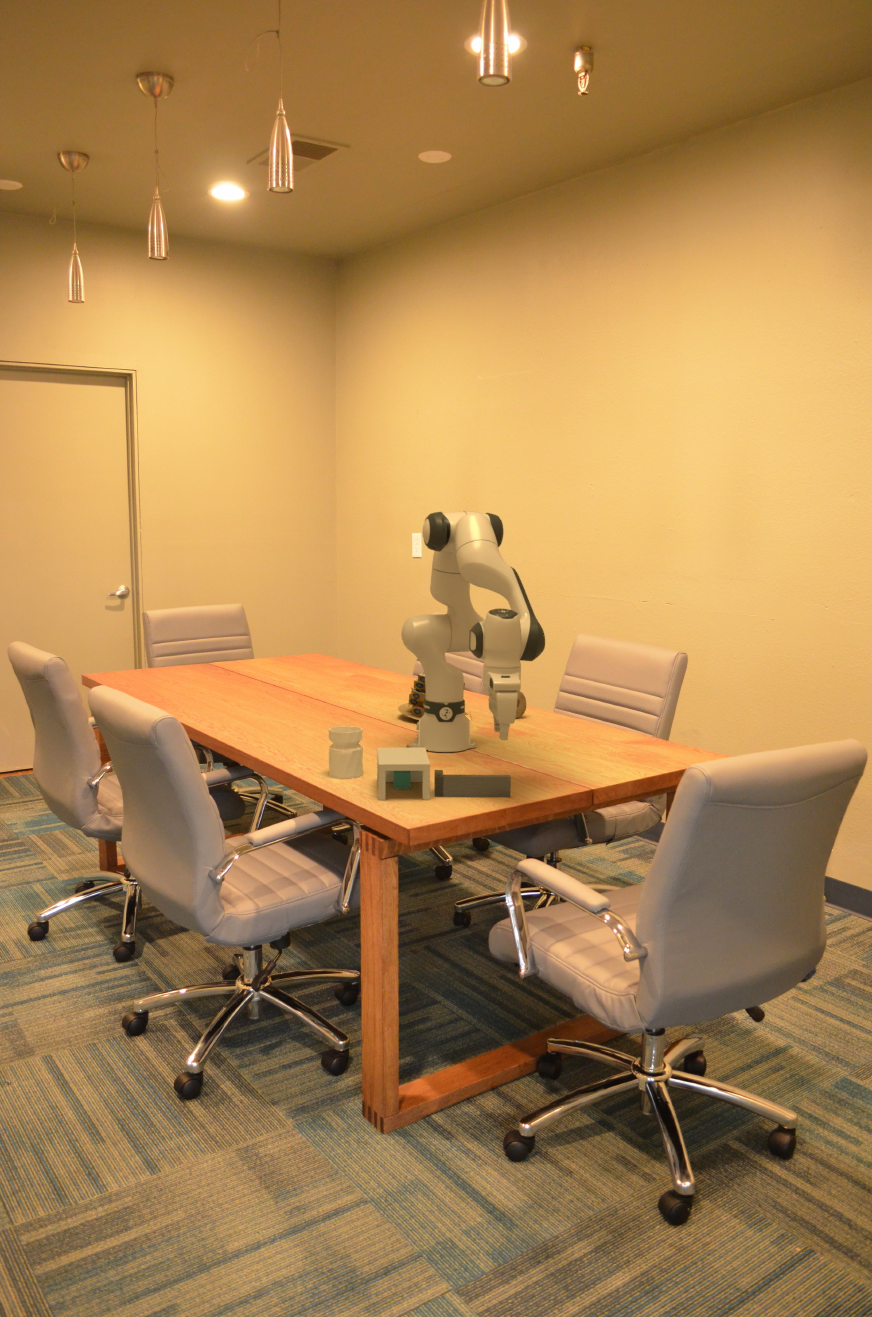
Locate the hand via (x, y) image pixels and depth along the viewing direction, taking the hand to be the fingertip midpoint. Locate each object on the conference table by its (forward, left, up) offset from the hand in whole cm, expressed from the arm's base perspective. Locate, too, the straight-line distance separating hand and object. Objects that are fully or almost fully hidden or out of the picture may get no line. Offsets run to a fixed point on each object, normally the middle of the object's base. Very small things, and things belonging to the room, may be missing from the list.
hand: (500, 735), depth 235 cm
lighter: (-19, -23, -15) cm, 33 cm away
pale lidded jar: (-21, -37, -15) cm, 45 cm away
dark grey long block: (-2, -6, -15) cm, 16 cm away
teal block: (-9, -23, -15) cm, 29 cm away
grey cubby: (-6, -23, -15) cm, 28 cm away
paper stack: (-99, -8, -15) cm, 100 cm away
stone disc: (-98, +18, -15) cm, 101 cm away
